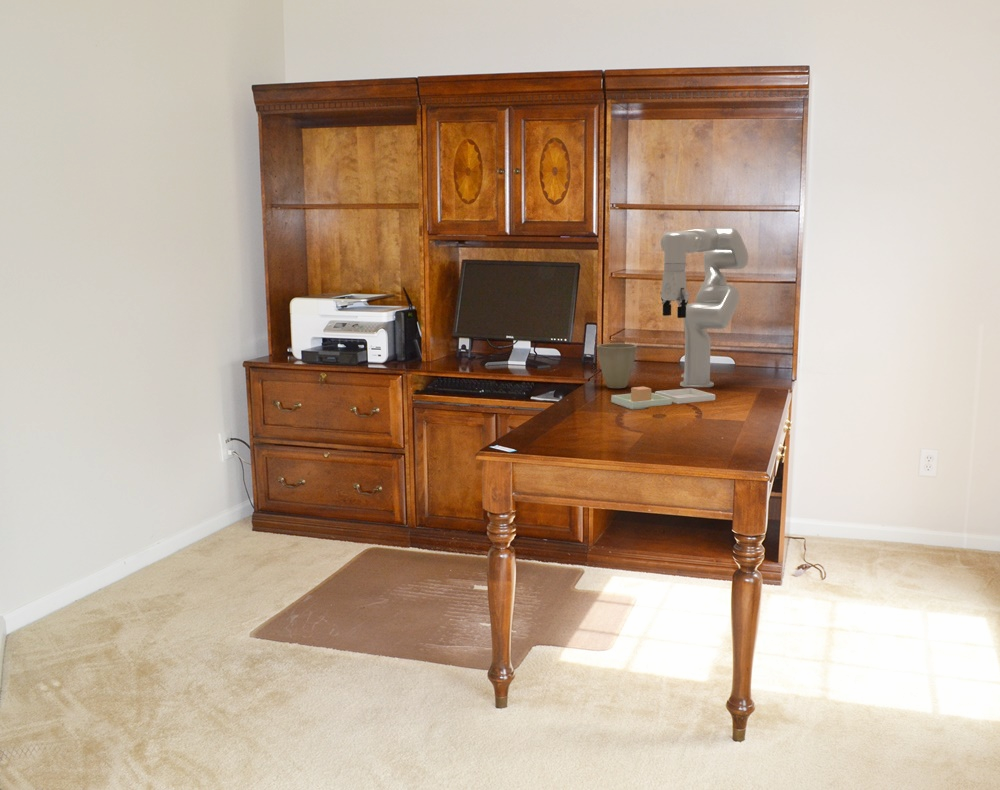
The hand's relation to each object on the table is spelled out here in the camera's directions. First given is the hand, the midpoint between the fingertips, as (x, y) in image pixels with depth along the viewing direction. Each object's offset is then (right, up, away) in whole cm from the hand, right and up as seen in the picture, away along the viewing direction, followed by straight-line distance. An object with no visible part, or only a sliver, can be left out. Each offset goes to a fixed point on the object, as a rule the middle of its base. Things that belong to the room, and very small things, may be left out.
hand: (674, 316), depth 340 cm
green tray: (-14, -31, -12) cm, 36 cm away
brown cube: (-14, -31, -12) cm, 36 cm away
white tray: (+3, -30, -6) cm, 30 cm away
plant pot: (-18, -25, +23) cm, 39 cm away
